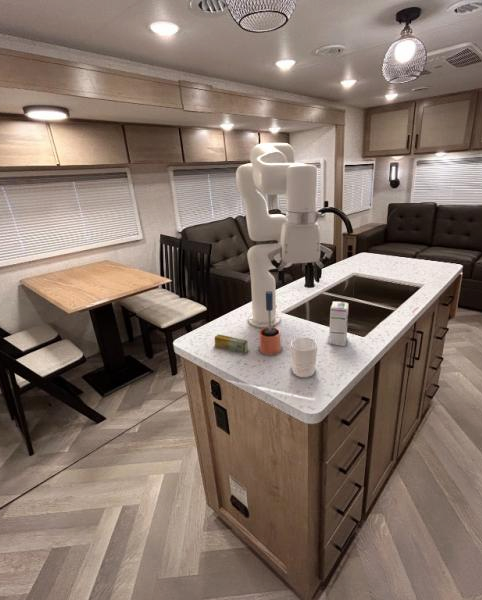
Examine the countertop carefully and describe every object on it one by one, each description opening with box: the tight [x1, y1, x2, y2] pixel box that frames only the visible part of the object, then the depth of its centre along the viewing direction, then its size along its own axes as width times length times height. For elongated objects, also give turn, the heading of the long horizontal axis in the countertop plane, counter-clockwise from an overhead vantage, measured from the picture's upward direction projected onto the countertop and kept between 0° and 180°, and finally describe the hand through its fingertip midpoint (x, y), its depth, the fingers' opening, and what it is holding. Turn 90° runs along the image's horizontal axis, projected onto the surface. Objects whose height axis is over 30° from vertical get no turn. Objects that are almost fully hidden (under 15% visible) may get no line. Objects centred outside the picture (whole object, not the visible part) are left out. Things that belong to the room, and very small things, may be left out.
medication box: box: [214, 334, 249, 354], centre depth 111 cm, size 12×3×4 cm, turn 68°
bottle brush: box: [265, 291, 275, 337], centre depth 106 cm, size 4×4×21 cm
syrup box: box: [328, 301, 349, 347], centre depth 112 cm, size 6×6×14 cm
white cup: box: [290, 336, 319, 378], centre depth 97 cm, size 8×8×10 cm
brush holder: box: [258, 326, 282, 356], centre depth 109 cm, size 7×7×7 cm
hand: (299, 282), depth 87 cm, fingers open, 9 cm apart
